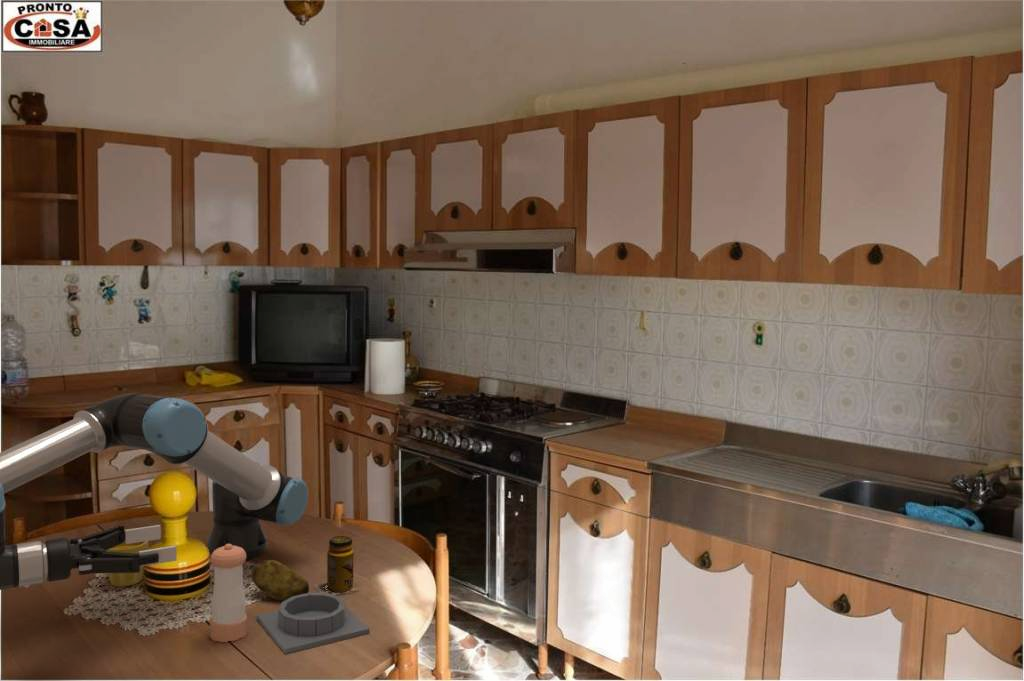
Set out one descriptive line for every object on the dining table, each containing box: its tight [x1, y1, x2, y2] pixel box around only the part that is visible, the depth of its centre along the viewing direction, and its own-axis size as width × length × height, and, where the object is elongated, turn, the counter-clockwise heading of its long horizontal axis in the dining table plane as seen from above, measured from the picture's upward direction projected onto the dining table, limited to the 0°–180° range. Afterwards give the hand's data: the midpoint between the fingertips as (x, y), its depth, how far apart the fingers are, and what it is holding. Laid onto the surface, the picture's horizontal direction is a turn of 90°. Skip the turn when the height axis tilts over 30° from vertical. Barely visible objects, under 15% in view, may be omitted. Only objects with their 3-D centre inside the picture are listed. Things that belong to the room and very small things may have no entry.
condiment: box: [313, 535, 355, 596], centre depth 199 cm, size 7×8×12 cm
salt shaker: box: [209, 544, 248, 643], centre depth 174 cm, size 7×7×19 cm
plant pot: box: [106, 540, 150, 588], centre depth 200 cm, size 10×10×10 cm
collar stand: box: [256, 592, 370, 655], centre depth 180 cm, size 18×18×4 cm
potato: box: [251, 559, 310, 602], centre depth 194 cm, size 8×13×8 cm, turn 61°
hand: (168, 542), depth 166 cm, fingers open, 13 cm apart
